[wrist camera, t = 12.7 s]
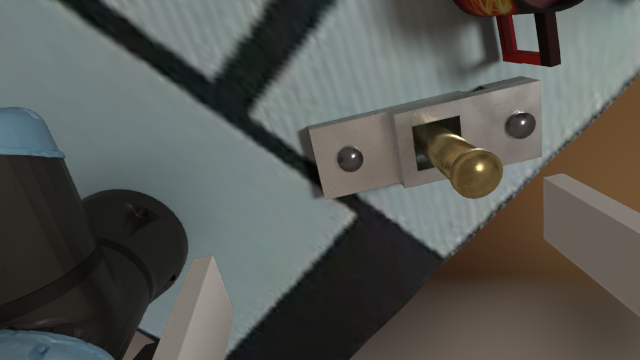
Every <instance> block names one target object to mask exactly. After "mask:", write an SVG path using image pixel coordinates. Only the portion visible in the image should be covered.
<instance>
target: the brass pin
mask: <svg viewBox="0 0 640 360" xmlns="http://www.w3.org/2000/svg"><path fill="white" fill-rule="evenodd" d="M412 133H413V141H414V148H415V149H416V150H417V151H418V152H420V153H421V154H422V155H423V156H424V157H425V158H426V159H427V160H428V161H429V162H430V163H432V164H433V165H434V166H435V167H436V168H437V169H438V170H439V171H440V172H441V173H442V174H444V175H445V176H446V177H447V178H448V179H449V180H450V182H451V185H452V186H453V188H454V189H455V190H456V191H457V192H458V193H459V194H461V195H462V196H464V197H466V198H471V199H476V198H481V197H484V196H486V195H488V194H490V193H491V192H492V191H493V190H494V189H495V188H496V187H497V186H498V184H499V183H500V181H501V178H502V174H503V167H502V163H501V161H500V159H499V158H498V157H497V156H496V155H495V154H493V153H492V152H490V151H488V150H486V149H482V148H477V147H475V146H474V145H472V144H470V143H469V142H467V141H466V140H464V139H462V138H461V137H459V136H457V135H456V134H454V133H453V132H451V131H449V130H448V129H446V128H444V127H443V126H441V125H440V124H438V123H436V122H435V121H433V122H429V123H424V124H420V125H416V126H414V127H413V129H412Z"/></svg>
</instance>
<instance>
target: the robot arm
mask: <svg viewBox="0 0 640 360" xmlns="http://www.w3.org/2000/svg"><path fill="white" fill-rule="evenodd" d="M64 158H65V155H64V153H63V152H60V151H59V149H58V147H57V145H56V143H55V141H54V139H53V137H52V135H51V133H50V131H49V129H48V127H47V125H46V123H45V121H44V120H43V119H42V118H41V117H40V116H39V115H38V114H37V113H35V112H33V111H31V110H29V109H25V108H21V107H7V108H0V360H122V359H123V357H124V355H125V353H126V350H127V348H128V346H129V344H130V342H131V340H132V338H133V336H134V334H135V332H136V330H137V328H138V326H139V324H140V322H141V319H142V317H143V315H144V313H145V311H146V309H147V307H148V305H149V304H150V303H151V302H153V301H154V300H155V299H156V298H158V297H159V296H160V295H161V294H163V293H164V292H165V291H166V290H168V289H169V288H170V287H171V286H172V285H173V284H174V282H175V281H176V280H177V278H178V277H179V275H180V273H181V271H182V269H183V266H184V264H185V261H186V258H187V254H188V241H187V236H186V233H185V230H184V228H183V226H182V224H181V222H180V221H179V219H178V218H177V217H176V215H175V214H174V213H173V212H172V211H171V210H170V209H169V208H168V207H167V206H165V205H164V204H163V203H161V202H160V201H158V200H156V199H155V198H153V197H151V196H148V195H146V194H143V193H140V192H136V191H131V190H123V189H115V190H106V191H102V192H98V193H95V194H93V195H90V196H89V197H87V198H85V199H84V200H82V201H81V198H80V196H79V194H78V191H77V189H76V187H75V184H74V182H73V180H72V177H71V175H70V173H69V170H68V168H67V166H66V164H65V161H64ZM544 239H545V240H546V241H547V242H549V243H550V244H551V245H552V246H554V247H555V248H556V249H557V250H559V251H560V252H561V253H562V254H563V255H565V256H566V257H567V258H568V259H570V260H571V261H572V262H573V263H574V264H576V265H577V266H578V267H579V268H580V269H582V270H583V271H584V272H586V273H587V274H588V275H589V276H590V277H591V278H593V279H594V280H595V281H596V282H598V283H599V284H600V285H601V286H603V287H604V288H605V289H606V290H607V291H609V292H610V293H611V294H612V295H613V296H615V297H616V298H617V299H619V300H620V301H621V302H622V303H623V304H625V305H626V306H627V307H628V308H630V309H631V310H632V311H633V312H634V313H635V314H637V315H638V316H639V317H640V213H638V212H636V211H634V210H632V209H630V208H628V207H626V206H625V205H623V204H621V203H619V202H617V201H615V200H613V199H611V198H609V197H607V196H606V195H603V194H602V193H600V192H598V191H596V190H594V189H592V188H590V187H588V186H586V185H584V184H583V183H581V182H579V181H577V180H575V179H573V178H571V177H569V176H567V175H565V174H563V173H562V174H558V175H553V176H549V177H545V178H544ZM233 311H234V310H233V308H232V305H231V302H230V300H229V297H228V294H227V292H226V289H225V286H224V284H223V281H222V279H221V276H220V273H219V271H218V268H217V265H216V263H215V260H214V257H213V255H210V256H205V257H201V258H197V259H193V261H192V264H191V266H190V269H189V271H188V274H187V276H186V279H185V281H184V283H183V286H182V288H181V291H180V293H179V296H178V298H177V300H176V303H175V305H174V308H173V310H172V313H171V315H170V317H169V320H168V322H167V325H166V327H165V330H164V332H163V334H162V337H161V339H160V342H155V343H151V344H147V345H145V346H144V347H143V348H142V350H141V351H140V352H139V353H138V354H137V355H136V356H135V358H134V359H133V360H224V357H225V352H226V347H227V342H228V337H229V332H230V326H231V321H232V316H233Z"/></svg>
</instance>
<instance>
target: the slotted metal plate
mask: <svg viewBox="0 0 640 360" xmlns="http://www.w3.org/2000/svg"><path fill="white" fill-rule="evenodd" d="M446 118H447V121H448V130H449V131H451V132H453V133H454V134H456V135H457V136H459V137H461V138H462V139H464V140H466V141H467V142H469V143H470V144H472V145H474V146H475V147H477V148H482V149H486V150H488V151H490V152H492V153H493V154H495V155H496V156H497V157H498V158H499V159H500V161H501V163H502V166H504V165H508V164H512V163H517V162H521V161H525V160H529V159H534V158H538V157H542V136H541V80H537V79H532V78H527V77H522V76H520V77H516V78H511V79H507V80H503V81H499V82H494V83H490V84H486V85H482V86H480V90H478V91H474V92H470V93H464V92H461V91H456V92H452V93H447V94H443V95H439V96H435V97H430V98H426V99H422V100H418V101H413V102H409V103H405V104H401V105H396V106H392V107H388V108H384V109H379V110H375V111H371V112H367V113H362V114H358V115H354V116H350V117H345V118H341V119H337V120H333V121H328V122H324V123H320V124H316V125H311V126H308V129H309V134H310V138H311V142H312V146H313V151H314V155H315V159H316V163H317V167H318V172H319V176H320V180H321V184H322V189H323V193H324V197H325V200H327V199H331V198H336V197H340V196H344V195H349V194H353V193H357V192H361V191H366V190H370V189H374V188H379V187H383V186H387V185H391V184H396V183H400V182H401V184H402V185H403V186H404V188H409V187H414V186H418V185H422V184H427V183H431V182H435V181H439V180H444V179H448V178H447V177H446V176H445V175H444V174H442V173H441V172H440V171H439V170H438V169H437V168H436V167H435V166H434V165H433V164H432V163H430V162H429V161H428V160H427V159H426V158H425V157H422V158H418V159H416V156H415V148H414V141H413V133H412V126H416V125H420V124H424V123H429V122H433V121H437V120H441V119H446Z"/></svg>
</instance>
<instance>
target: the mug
mask: <svg viewBox="0 0 640 360" xmlns="http://www.w3.org/2000/svg"><path fill="white" fill-rule="evenodd" d="M453 1H454V3H455V4H456V5H457V6H458V7H459V8H460V9H461V10H463V11H464V12H466V13H468V14H471V15H473V16H480V17H487V16H496V20H497V25H498V31H499V37H500V43H501V48H502V56H503V61H506V62H513V63H519V64H522V63H526V64H533V65H540V66H547V67H553V66H556V65H559V64H561V58H560V48H559V39H558V31H557V23H556V14H555V12H558V11H562V10H565V9H569V8H571V7H573V6H575V5H577V4H579V3H581V2H582V1H584V0H453ZM532 13H534V16H535V23H536V30H537V38H538V45H539V52H533V51H522V50H517V45H516V38H515V32H514V26H513V19H512V15H517V14H532Z"/></svg>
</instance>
